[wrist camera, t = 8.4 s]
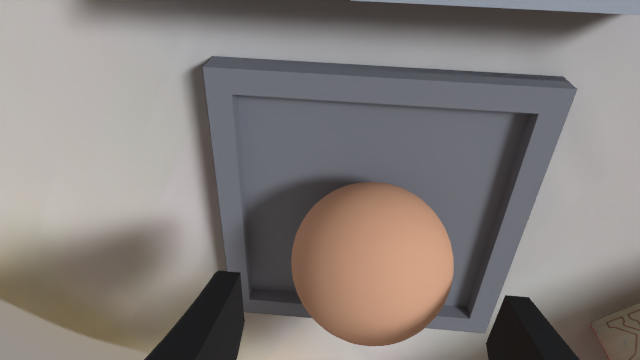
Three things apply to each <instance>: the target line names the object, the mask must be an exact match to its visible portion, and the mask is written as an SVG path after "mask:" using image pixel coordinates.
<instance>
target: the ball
mask: <svg viewBox="0 0 640 360" xmlns="http://www.w3.org/2000/svg"><path fill="white" fill-rule="evenodd" d="M291 266H292V276H293V281H294V284H295V288H296V291H297V294H298V296H299V298H300V300H301V302H302V304H303V306H304V307H305V309H306V310H307V312H308V313H309V314H310V315H311V317H312V318H313V319H314V320H315V321H316V322H317V323H318V324H319V325H320V326H322V327H323V328H324V329H325V330H326V331H328V332H329V333H331V334H332V335H334V336H336V337H338V338H340V339H343V340H345V341H348V342H351V343H354V344H359V345H365V346H384V345H390V344H395V343H398V342H401V341H404V340H406V339H408V338H410V337H412V336H414V335H416V334H417V333H419V332H420V331H422V330H423V329H424V328H425V327H426V326H427V325H428V324H430V323H431V322H432V321H433V320H434V318H435V317H436V316H437V315H438V313H439V312H440V310H441V309H442V307H443V305H444V304H445V302H446V299H447V297H448V294H449V292H450V289H451V284H452V279H453V272H454V258H453V252H452V247H451V242H450V240H449V237H448V234H447V232H446V229H445V227H444V226H443V224H442V222H441V221H440V219H439V218H438V216H437V215H436V213H435V212H434V211H433V210H432V209H431V208H430V207H429V206H428V205H427V204H426V203H425V202H424V201H423V200H422V199H420V198H419V197H417V196H416V195H414V194H413V193H411V192H409V191H407V190H405V189H403V188H401V187H398V186H395V185H391V184H387V183H380V182H361V183H355V184H350V185H347V186H344V187H341V188H339V189H337V190H334V191H333V192H331V193H329V194H328V195H326V196H325V197H323V198H322V199H321V200H320V201H318V202H317V203H316V204H315V205H314V206H313V207H312V208H311V210H310V211H309V212H308V213H307V215H306V216H305V218H304V219H303V221H302V223H301V225H300V227H299V229H298V231H297V233H296V236H295V240H294V244H293V248H292V259H291Z"/></svg>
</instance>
